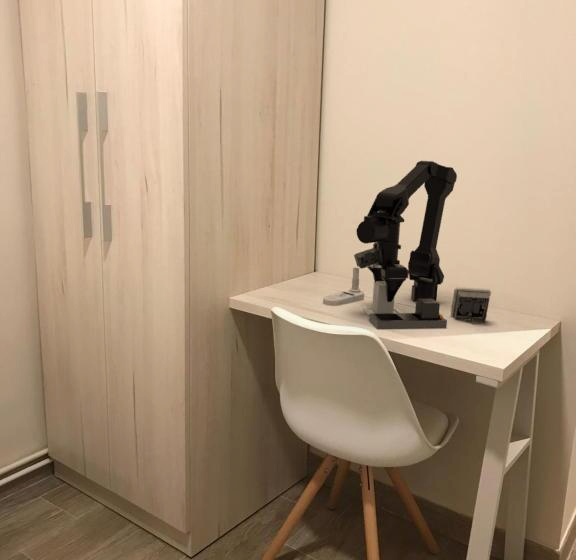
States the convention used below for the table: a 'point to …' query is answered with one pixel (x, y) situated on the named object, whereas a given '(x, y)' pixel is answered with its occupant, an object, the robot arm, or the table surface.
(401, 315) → the strip
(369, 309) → the tray
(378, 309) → the plug
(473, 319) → the electrical switch
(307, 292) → the table surface
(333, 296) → the electronic device
